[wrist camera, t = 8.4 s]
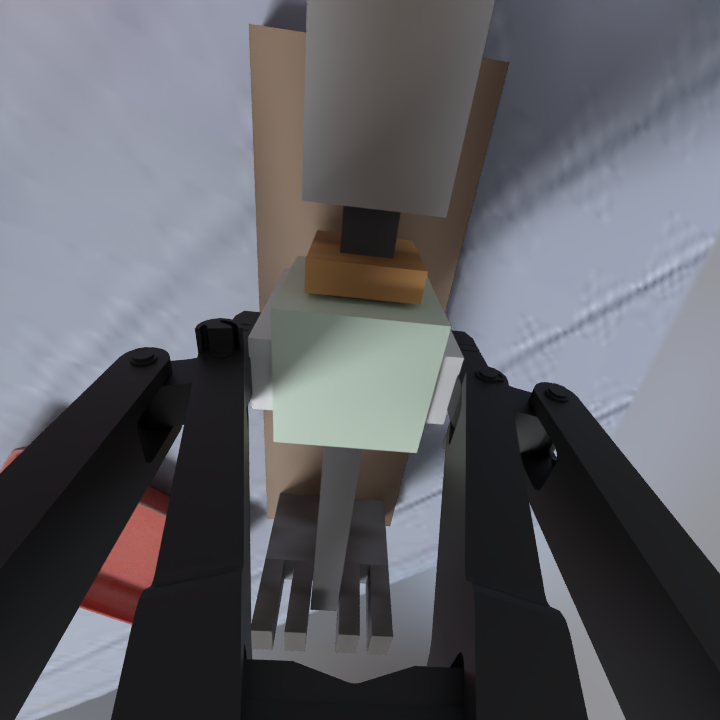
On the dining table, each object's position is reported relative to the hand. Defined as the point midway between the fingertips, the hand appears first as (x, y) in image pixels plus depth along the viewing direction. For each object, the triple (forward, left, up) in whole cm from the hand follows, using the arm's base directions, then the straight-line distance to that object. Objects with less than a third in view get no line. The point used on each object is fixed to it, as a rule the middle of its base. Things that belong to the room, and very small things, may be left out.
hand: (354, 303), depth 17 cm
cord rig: (0, -5, -4) cm, 6 cm away
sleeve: (0, 0, +2) cm, 2 cm away
